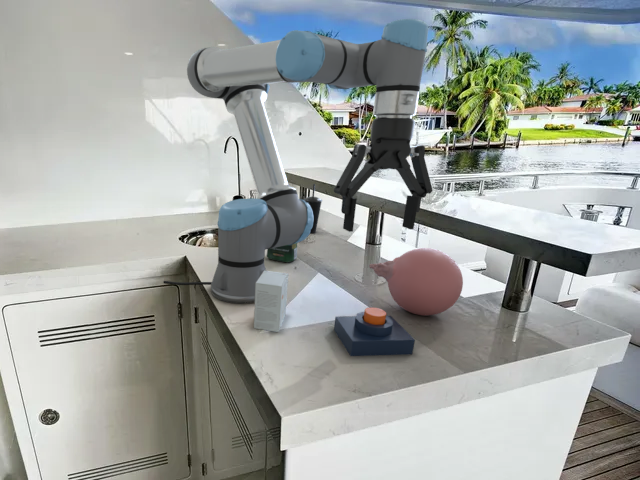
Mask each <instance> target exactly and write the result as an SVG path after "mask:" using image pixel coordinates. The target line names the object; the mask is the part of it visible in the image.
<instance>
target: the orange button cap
mask: <svg viewBox="0 0 640 480" xmlns="http://www.w3.org/2000/svg"><path fill="white" fill-rule="evenodd" d="M363 312H364V319H363V320H364V321H365V322H367V323H369V324H374V325H383V324H385V319H386V316H387V312H386V311H385V310H384V309H382V308H379V307H373V306H372V307H366V308H365V309H364V311H363Z"/></svg>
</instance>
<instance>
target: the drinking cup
mask: <svg viewBox="0 0 640 480" xmlns="http://www.w3.org/2000/svg"><path fill="white" fill-rule="evenodd" d="M315 191H316V184H315V183H313V184H312V193H311V194H312V195H311V196H307V197H304V198H303V199H302V200H304V201H305V202H306V203H308V204H309V205H310V207H311V209H312V212H313V227H312V229H311V231H310V234H315V233H316V232H317V227H318V222H319V216H320V211H321V206H322V202H323V199H322V198H320V197H317V196H315Z"/></svg>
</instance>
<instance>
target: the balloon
mask: <svg viewBox="0 0 640 480" xmlns="http://www.w3.org/2000/svg"><path fill="white" fill-rule="evenodd" d="M368 267H369V268H370V269H371V270H373V272H374V273H375V274H376V276H378V277H379V278H381V277H382V278H384V280H385V281H386V283H387V286H388V290H389V293H390V295H391V297H392V299H393V301H394V302H395V303H396V304H397V306H399V307H400V308H402V309H403V310H405V311H407V312H409V313H410V314H414V315H417V316H434V315H439V314H441V313H443V312H445V311H448V310H449V309H450V308H451V307H452V306H453V305H454V304H456V302H457V301H458V300H459V298H460V296H461V294H462V291H463V286H464V278H463V273H462V270H461V268H460V267H459V265H458V263H457V262H456V261H455V260H454V259H453V258H452V257H451V256H450V255H449V254H447V253H445V252H444V251H442V250H439V249H435V248H432V247H431V248H429V247H419V248H414V249H411V250H408V251H406V252H404V253H403V254H402V255H400V256H396V257H395V258H393V260H387V261H385V262H378V263H369V266H368Z"/></svg>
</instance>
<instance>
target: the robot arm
mask: <svg viewBox="0 0 640 480" xmlns="http://www.w3.org/2000/svg"><path fill="white" fill-rule="evenodd" d="M381 34H382V35H381V38H380V39H377V40H374V41H370V42H364V43H354V42H349V41H345V40H342V39H337V38H333V37H329V36H326V35H322V34H319V33H315V32H313V31H310V30H299V29H298V30H297V29H296V30H295V29H293V30H290V31H289V32H286V35H284V36H283V37H281V39H277V40H272V41H266V42H261V43H260V42H259V43H255V44H248V45H243V46H236V47H232V48H226V49H221V48H220V47H217V46H209V47H204V48H200V49H198V50H196V51H195V52H193V54H192V55H191V56H190V57H189V60H188V62H187V67H186V75H187V79H188V81H189V84H190V86H191V87H192V89H194V91H196V92H197V93H199V95H201V96H204V97H206V98H211V99H220V100H223V102H224V106H225V109H226V111H227V112H228V113H229V114H231V115H233V116H234V119H235V123H236V126H237V130H238V133H239V136H240V140H241V143H242V147H243V149H244V154H245V156H246V160H247V163H248V167H249V169H250V173H251V176H252V180H253V183H254V186H255V189H256V194H257V196H256V197H255V198H254V197H253V198H252V197H250V198H249V197H247V198H238V199H232V200H230V201H227V202H225V203H223V204H222V205H221V206H220V208H219V210H218V219H217V228H218V229H217V234H218V235H217V266H216V267H215V268H216V269H215V272H214V274H213V278H212V280H211V281H191V282H190V281H189V282H184V281H183V282H179V281H172V280H171V281H170V280H163V282H162V283H163V284H168V285H175V286H210V293H211V295H212V296H213V297H214V298H216V299H217V300H220V301H222V302H226V303H231V304H241V305H242V304H253V303H254V304H255V283H256V282H257V280H258V279H259V277H260V276H261V274H262V273H263V271H264V270H265V271H267V269H266V266H265V255H266V251H267V249H271V248H275V247H280V246H285V245H293V244H295V243H297V244H298V243H300V242H303V241H305V240H306V239H307V238H308V237H309V235H310V234H311V233H310V231H311V229H312V227H313V212H312V209H311V207H310V205H309V204H308V203H306V202H305V201H304V200H303V199H301V198H299V195H298V194H299V193H298V191H297V189H296V188H295V187H293V186H291V185H290V184H289V182H288V178H287V174H286V172H285V169H284V165H283V162H282V159H281V156H280V153H279V149H278V146H277V142H276V139H275V136H274V133H273V129H272V126H271V123H270V119H269V116H268V113H267V109H266V107H265V103H266V102H267V100H268V93H269V91H270V87H271V85H273V84H284V83H285V84H286V83H293V84H294V83H314V84H323V85H327V86H328V87H329V88H330V89H333V90H350V89H353V88H361V87H362V88H363V87H369V86H370V87H371V86H376V88H375V96H374V102H373V111H372V115H373V116H374V117H375V118H374V119H373V120H372V121H371V128H370V136H369V138H370V143H369V145H366V144H362V143H361V144H360V143H359V144H355V145H354V146H353V148H352V149H353V150H352V154H351V157H350V159H349V161H348V163H347V165H346V166H345V168H344V170H343V172H342V174H341V175H340V177H339V180H338V181H337V183H336V185H335V187H333V193H335V194H337V195H339V196H341V197H342V198H341V209H340V211H341V213H342V214H343V215H344V216H343V226H342V229H343V230H345V231H347V232H349V233H352V232H354V227H355V216H356V208H357V198H356V197H354V196H355V195H356V194H357V193H358V191H359V190H361V188H362V187H363V186H364V185H365V183H367V181H368V180H369V179H370V178H371V176H373V174H374V173H376V172H377V171H378V170H396V171H397V172H398V174H399V176H400V177H401V179H402V180H403V182H404V184H405V186H406V187H407V189H408V191H409V192H410V195H406V200H405V205H404V206H405V208H404V212H403V213H404V214H403V220H402V225H401V226H402V228H405V229H408V230H415V229H414V228H415V223H416V216H417V213H419V212H420V209H421V203H422V198H426V197H427V194H432V193H433V187H432V183H431V178H430V174H429V170H428V166H427V162H426V159H425V151H426V147H425V145H423V144H422V145H421V144H413V145H412V146H411V142H412V141H411V140H412V139H413V137H414V130H415V124H416V121H415V119H414V118H413V117H414V116H416V115H417V109H418V105H419V104H418V103H419V97H420V89H421V82H422V76H423V71H424V70H423V69H424V64H425V59H426V53H427V52H428V49H427V47H428V37H429V36H428V35H429V26H428V24H427V22H426V21H424V20H422V19H419V18H418V19H416V18H403V19H397V20H393V21H390V22H389V23H387V24H385V26H384V27H383V30H382V33H381ZM366 156H369V159H368V160H367V161H366V162H365V163H364V165H363V168H361V170H360V171H359V172H358V170H359V168H360V166H361V165H362V163H363V160H364V159H365V158H366ZM408 157H410V160H411V164H412V168H413V170H412V169H411V165H410V163H409V161H408V159H407V158H408ZM357 172H358V173H357Z"/></svg>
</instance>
